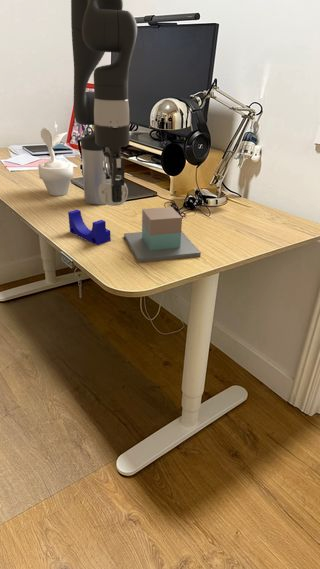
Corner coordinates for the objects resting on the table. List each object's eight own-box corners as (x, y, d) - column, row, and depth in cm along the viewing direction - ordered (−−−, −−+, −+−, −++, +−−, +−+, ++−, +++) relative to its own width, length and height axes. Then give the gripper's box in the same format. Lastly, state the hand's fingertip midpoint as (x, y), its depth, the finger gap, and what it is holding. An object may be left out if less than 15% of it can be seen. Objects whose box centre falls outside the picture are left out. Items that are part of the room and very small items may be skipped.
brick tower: (124, 236, 108) (123, 204, 104) (179, 232, 112) (181, 201, 108) (138, 262, 95) (138, 227, 91) (200, 256, 99) (203, 222, 95)
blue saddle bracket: (110, 241, 106) (109, 219, 103) (97, 245, 103) (96, 224, 100) (83, 228, 113) (81, 208, 110) (70, 232, 110) (68, 211, 107)
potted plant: (56, 200, 133) (48, 120, 120) (34, 193, 139) (24, 116, 126) (84, 192, 142) (79, 117, 129) (62, 186, 148) (55, 113, 135)
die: (98, 202, 94) (97, 181, 91) (112, 197, 98) (111, 177, 95) (115, 207, 92) (114, 185, 89) (128, 201, 95) (128, 181, 93)
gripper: (89, 116, 90) (93, 188, 99) (99, 128, 79) (103, 208, 87) (122, 116, 92) (123, 186, 101) (136, 127, 81) (136, 205, 89)
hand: (113, 196), depth 94 cm, fingers closed on die, 7 cm apart
